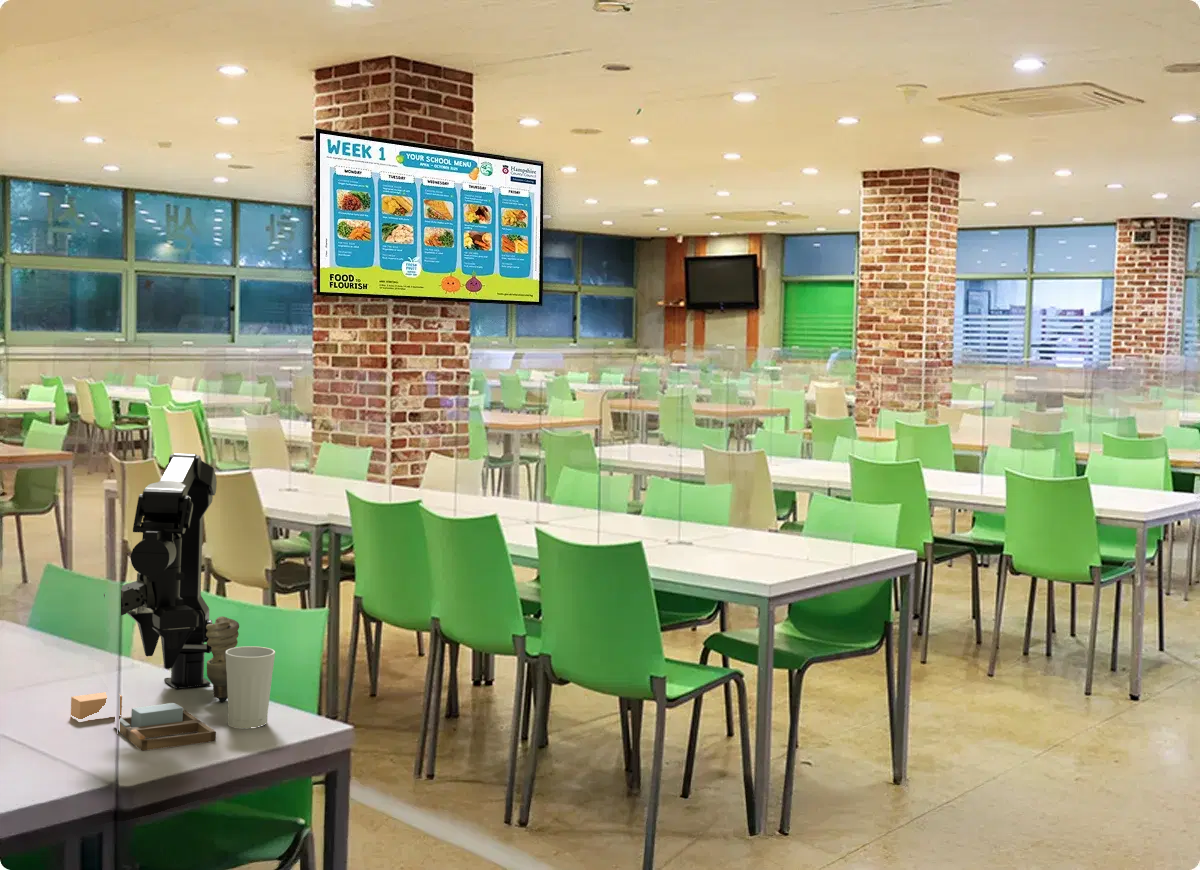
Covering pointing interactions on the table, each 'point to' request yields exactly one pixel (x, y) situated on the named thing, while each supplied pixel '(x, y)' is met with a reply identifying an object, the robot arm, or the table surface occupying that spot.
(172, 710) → the slate bar
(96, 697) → the terracotta bar
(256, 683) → the cup
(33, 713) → the table surface
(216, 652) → the light bulb
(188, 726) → the divided wooden tray
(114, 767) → the table surface
